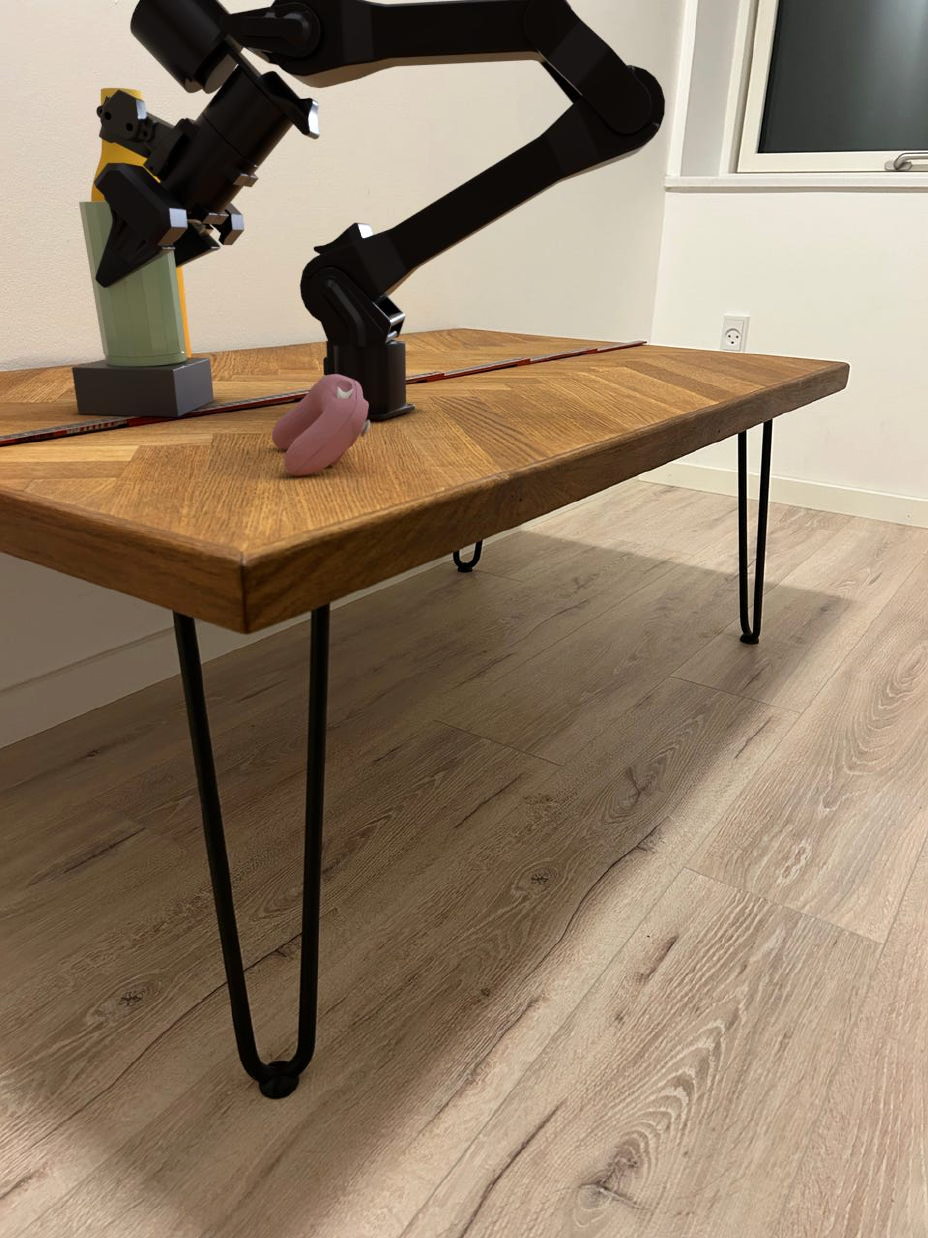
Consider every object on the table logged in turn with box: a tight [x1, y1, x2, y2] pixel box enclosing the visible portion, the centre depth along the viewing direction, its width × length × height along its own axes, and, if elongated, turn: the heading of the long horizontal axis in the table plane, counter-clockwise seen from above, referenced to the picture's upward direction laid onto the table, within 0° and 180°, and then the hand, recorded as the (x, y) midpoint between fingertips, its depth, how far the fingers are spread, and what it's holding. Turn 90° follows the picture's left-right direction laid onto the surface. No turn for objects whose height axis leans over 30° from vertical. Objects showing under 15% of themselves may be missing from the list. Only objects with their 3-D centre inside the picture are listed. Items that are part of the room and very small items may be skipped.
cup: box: [78, 201, 187, 367], centre depth 79 cm, size 7×7×13 cm
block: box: [71, 357, 215, 418], centre depth 83 cm, size 9×9×4 cm
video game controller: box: [271, 374, 371, 477], centre depth 63 cm, size 10×5×7 cm, turn 17°
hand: (119, 281), depth 79 cm, fingers closed on cup, 7 cm apart
